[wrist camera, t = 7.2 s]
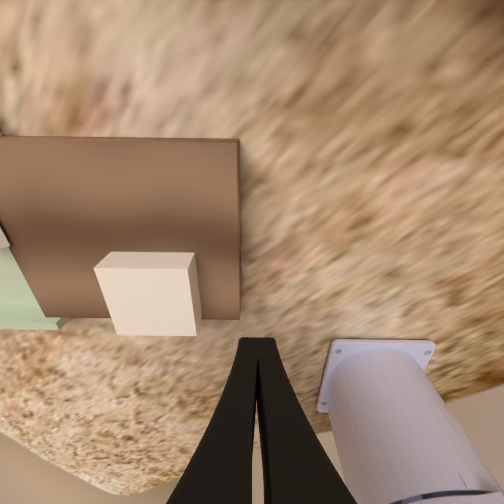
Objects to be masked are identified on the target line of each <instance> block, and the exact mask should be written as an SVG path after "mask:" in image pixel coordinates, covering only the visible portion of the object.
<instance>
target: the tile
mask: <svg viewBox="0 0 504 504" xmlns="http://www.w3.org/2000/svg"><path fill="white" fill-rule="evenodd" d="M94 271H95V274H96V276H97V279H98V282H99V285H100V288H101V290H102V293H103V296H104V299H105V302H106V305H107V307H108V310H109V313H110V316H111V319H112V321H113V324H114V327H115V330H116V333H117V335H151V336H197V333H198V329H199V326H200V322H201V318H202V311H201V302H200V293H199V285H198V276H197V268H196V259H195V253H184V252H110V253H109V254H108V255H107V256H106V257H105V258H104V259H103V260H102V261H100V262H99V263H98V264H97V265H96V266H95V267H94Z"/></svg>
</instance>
